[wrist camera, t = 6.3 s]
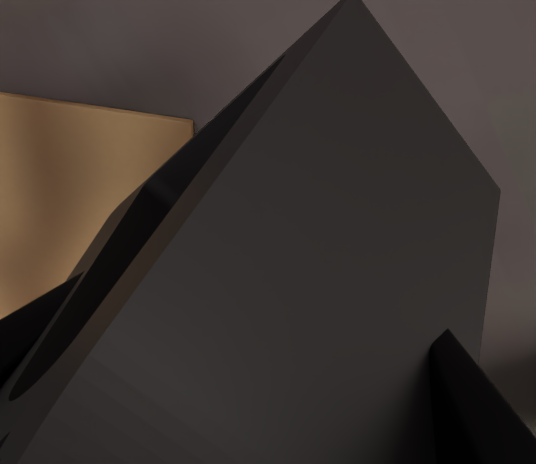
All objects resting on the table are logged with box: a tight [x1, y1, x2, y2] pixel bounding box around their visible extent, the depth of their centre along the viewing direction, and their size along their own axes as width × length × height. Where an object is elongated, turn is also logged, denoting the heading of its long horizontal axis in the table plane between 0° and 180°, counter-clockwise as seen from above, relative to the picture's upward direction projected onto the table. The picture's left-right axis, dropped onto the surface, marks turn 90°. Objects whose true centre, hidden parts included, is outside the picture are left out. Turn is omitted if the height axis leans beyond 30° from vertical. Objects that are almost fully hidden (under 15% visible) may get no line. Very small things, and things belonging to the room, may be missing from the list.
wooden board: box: [0, 92, 193, 319], centre depth 27 cm, size 18×20×1 cm
